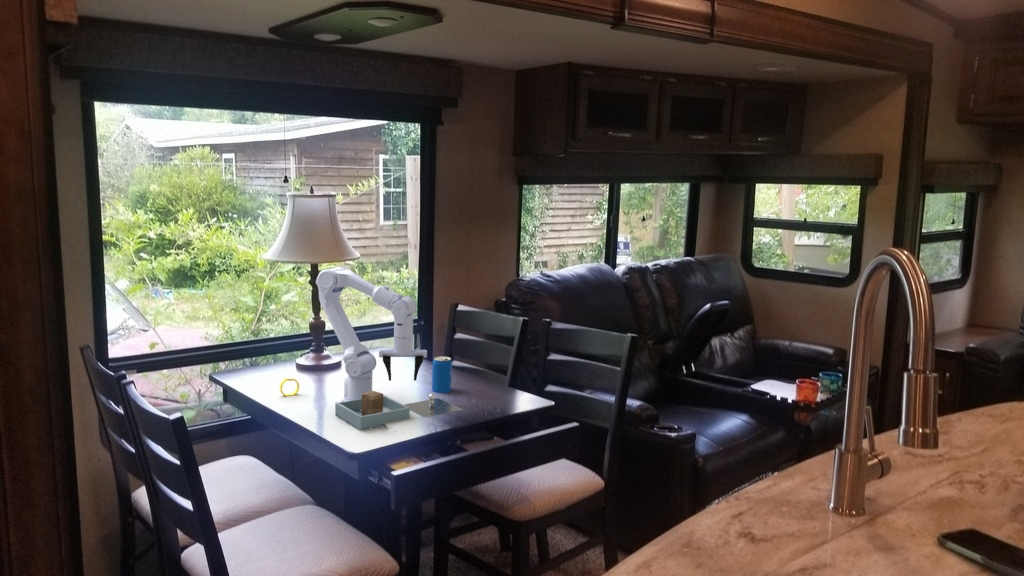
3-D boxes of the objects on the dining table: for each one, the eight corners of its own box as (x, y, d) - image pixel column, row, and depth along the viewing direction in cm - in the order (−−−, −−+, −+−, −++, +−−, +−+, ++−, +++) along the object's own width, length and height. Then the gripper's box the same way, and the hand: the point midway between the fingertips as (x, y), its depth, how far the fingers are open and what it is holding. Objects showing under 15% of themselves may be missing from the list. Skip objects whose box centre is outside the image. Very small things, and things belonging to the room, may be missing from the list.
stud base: (400, 408, 230) (400, 391, 229) (438, 401, 238) (438, 385, 238) (424, 420, 219) (425, 403, 218) (463, 412, 228) (463, 396, 227)
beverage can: (447, 396, 244) (448, 361, 242) (429, 394, 245) (430, 359, 243) (453, 391, 250) (454, 357, 248) (435, 389, 251) (436, 355, 250)
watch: (296, 393, 242) (298, 376, 241) (299, 396, 239) (300, 378, 239) (278, 394, 238) (279, 376, 238) (280, 397, 236) (282, 379, 235)
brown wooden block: (361, 416, 218) (361, 393, 217) (372, 413, 222) (372, 390, 221) (371, 419, 216) (372, 396, 215) (382, 416, 219) (383, 393, 218)
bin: (335, 415, 220) (335, 402, 220) (382, 407, 230) (382, 394, 230) (360, 430, 208) (360, 417, 207) (409, 421, 218) (409, 408, 217)
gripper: (426, 334, 231) (425, 376, 233) (379, 333, 228) (378, 376, 230) (427, 338, 224) (426, 382, 226) (379, 338, 221) (378, 382, 223)
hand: (402, 379), depth 227 cm, fingers open, 7 cm apart
